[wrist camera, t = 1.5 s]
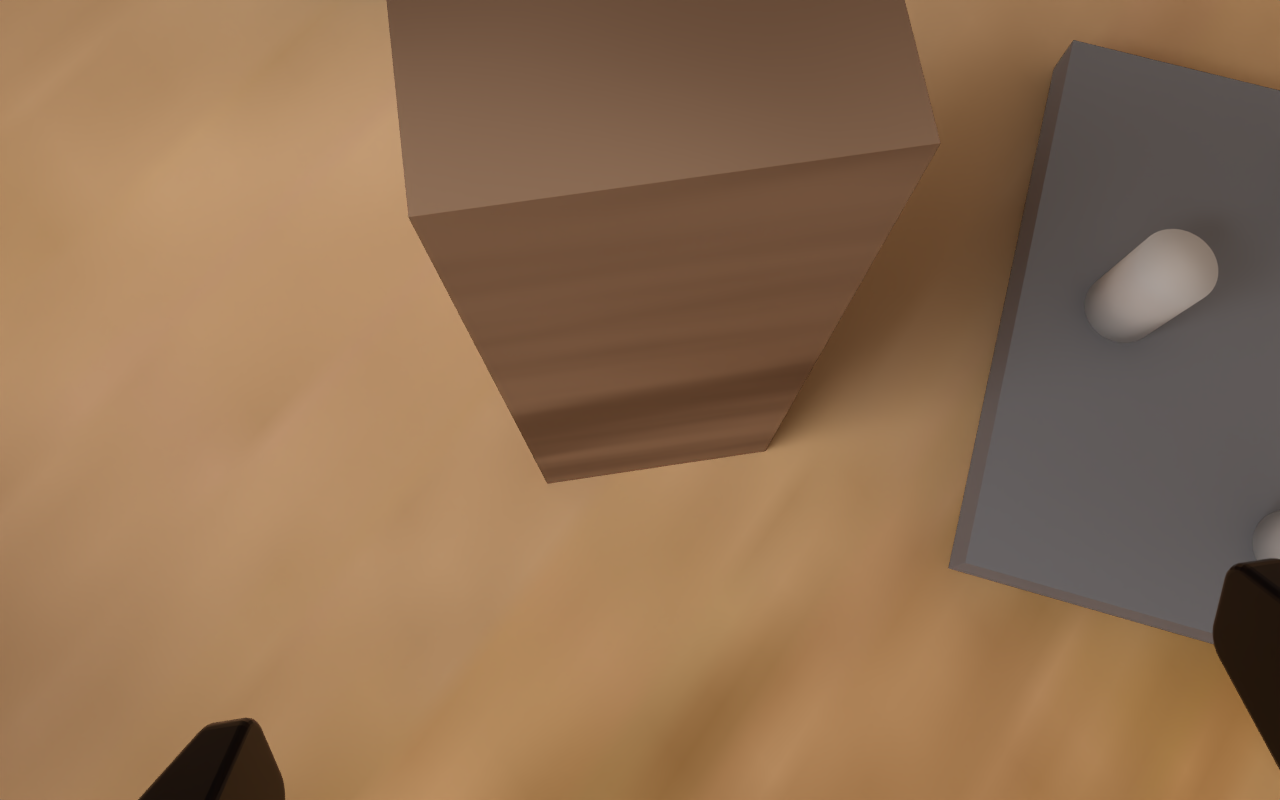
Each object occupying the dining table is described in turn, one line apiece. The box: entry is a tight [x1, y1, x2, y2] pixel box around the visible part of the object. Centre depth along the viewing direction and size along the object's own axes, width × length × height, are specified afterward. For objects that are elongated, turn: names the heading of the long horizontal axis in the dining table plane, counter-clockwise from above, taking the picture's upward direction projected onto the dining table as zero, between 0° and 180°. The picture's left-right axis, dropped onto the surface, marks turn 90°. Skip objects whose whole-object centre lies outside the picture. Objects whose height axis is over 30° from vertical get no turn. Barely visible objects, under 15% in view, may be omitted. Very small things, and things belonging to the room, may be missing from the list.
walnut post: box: [387, 0, 940, 484], centre depth 17 cm, size 5×5×14 cm
